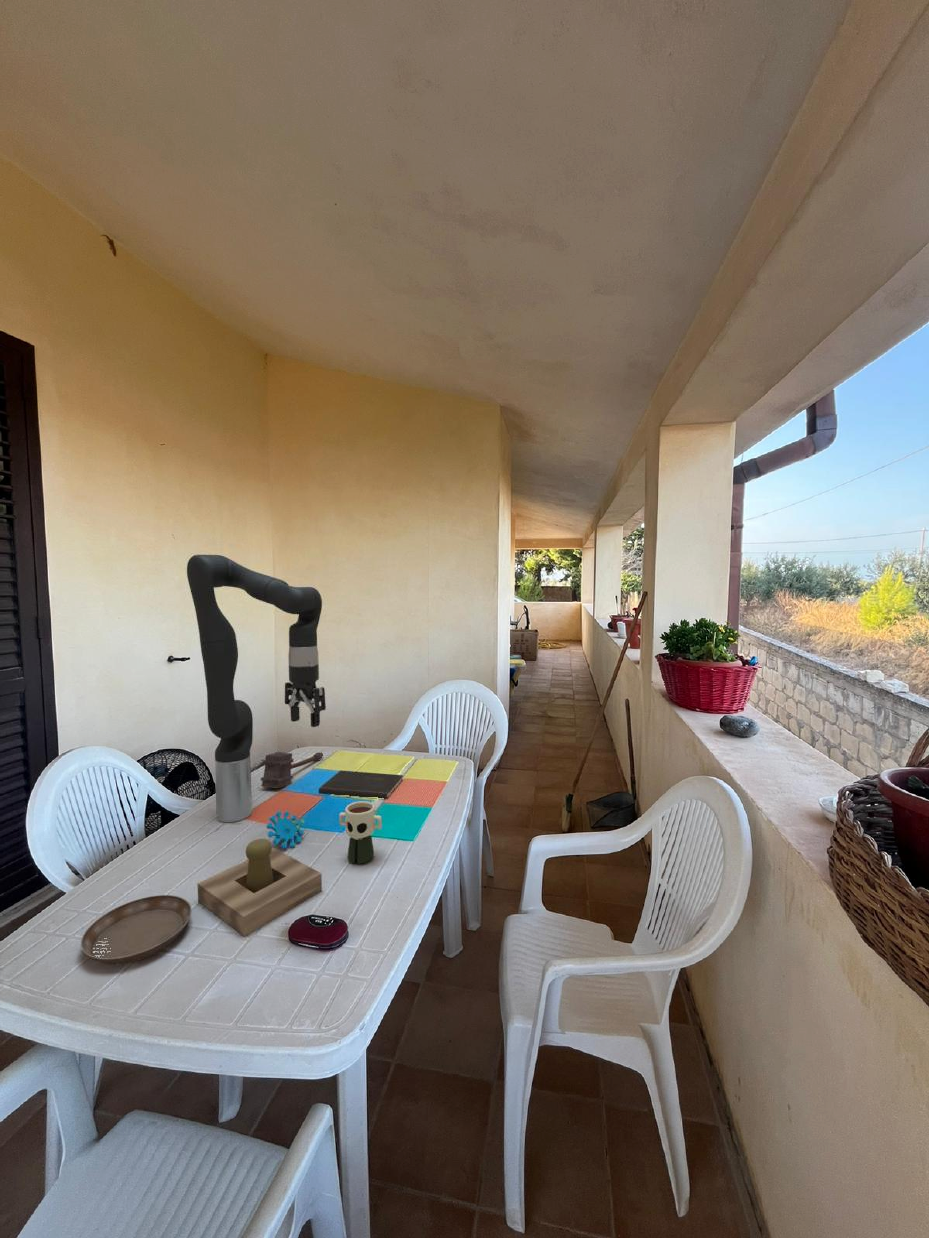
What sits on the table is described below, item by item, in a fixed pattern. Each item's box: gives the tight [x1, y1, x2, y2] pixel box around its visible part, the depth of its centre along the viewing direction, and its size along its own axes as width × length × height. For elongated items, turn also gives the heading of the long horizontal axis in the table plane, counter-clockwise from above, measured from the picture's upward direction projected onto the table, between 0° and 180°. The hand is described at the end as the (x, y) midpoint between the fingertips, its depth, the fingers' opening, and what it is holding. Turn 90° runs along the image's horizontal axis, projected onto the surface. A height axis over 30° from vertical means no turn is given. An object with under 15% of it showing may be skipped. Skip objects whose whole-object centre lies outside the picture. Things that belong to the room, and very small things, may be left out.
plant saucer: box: [80, 894, 193, 966], centre depth 97 cm, size 18×18×3 cm
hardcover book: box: [318, 770, 404, 800], centre depth 168 cm, size 16×23×2 cm
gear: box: [266, 810, 305, 850], centre depth 133 cm, size 11×6×10 cm
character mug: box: [338, 800, 383, 864], centre depth 124 cm, size 11×7×13 cm, turn 79°
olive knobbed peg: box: [245, 838, 274, 893], centre depth 109 cm, size 6×6×11 cm
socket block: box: [196, 847, 323, 937], centre depth 110 cm, size 18×18×4 cm
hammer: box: [260, 751, 324, 789], centre depth 181 cm, size 7×33×10 cm, turn 166°
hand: (305, 723), depth 135 cm, fingers open, 8 cm apart
